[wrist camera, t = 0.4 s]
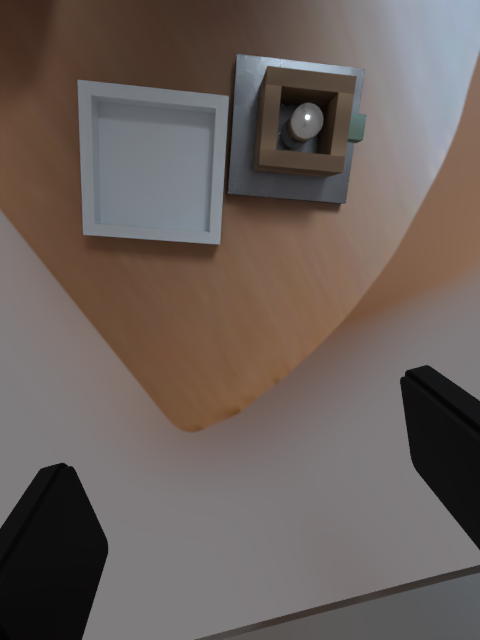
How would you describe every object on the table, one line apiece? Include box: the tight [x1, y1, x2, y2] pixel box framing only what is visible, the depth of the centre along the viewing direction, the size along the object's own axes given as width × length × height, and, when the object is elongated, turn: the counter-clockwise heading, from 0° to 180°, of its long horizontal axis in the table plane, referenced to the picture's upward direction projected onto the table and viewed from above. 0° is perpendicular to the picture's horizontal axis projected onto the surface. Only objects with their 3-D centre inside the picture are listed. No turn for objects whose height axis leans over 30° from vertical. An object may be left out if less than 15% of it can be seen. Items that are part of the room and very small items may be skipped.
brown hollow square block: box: [253, 66, 366, 178], centre depth 31 cm, size 7×8×4 cm
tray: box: [77, 80, 229, 245], centre depth 33 cm, size 12×12×2 cm
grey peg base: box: [228, 54, 365, 204], centre depth 31 cm, size 11×11×6 cm
